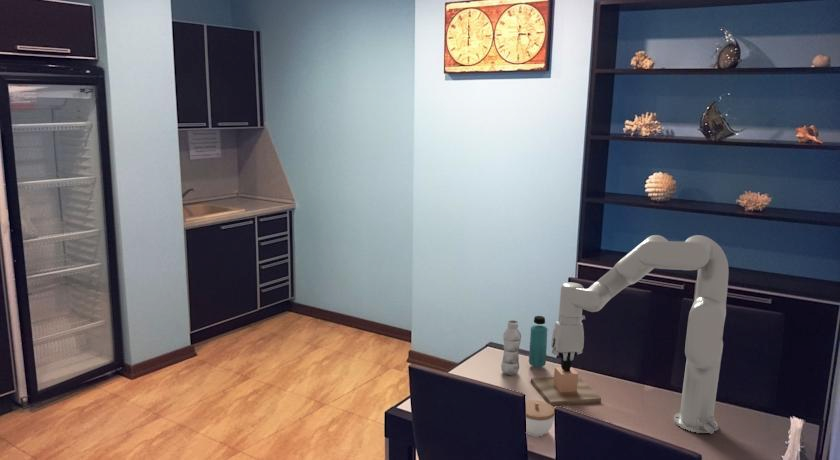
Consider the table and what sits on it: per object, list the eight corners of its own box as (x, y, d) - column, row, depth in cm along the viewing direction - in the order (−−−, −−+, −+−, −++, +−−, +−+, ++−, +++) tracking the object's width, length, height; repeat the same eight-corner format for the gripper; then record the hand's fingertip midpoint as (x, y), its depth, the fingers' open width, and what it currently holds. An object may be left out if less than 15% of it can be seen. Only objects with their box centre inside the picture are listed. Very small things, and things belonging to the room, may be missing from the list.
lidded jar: (553, 443, 182) (555, 413, 180) (516, 438, 184) (518, 409, 182) (553, 425, 192) (555, 397, 190) (518, 421, 194) (519, 393, 192)
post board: (600, 402, 208) (602, 384, 206) (550, 405, 204) (551, 387, 203) (577, 379, 225) (578, 362, 224) (530, 382, 222) (531, 365, 220)
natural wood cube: (576, 391, 212) (578, 373, 211) (560, 392, 211) (561, 374, 210) (569, 383, 218) (570, 366, 217) (553, 384, 217) (554, 367, 215)
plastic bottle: (497, 371, 230) (500, 320, 226) (512, 368, 233) (515, 318, 229) (506, 378, 224) (509, 326, 220) (522, 375, 227) (525, 323, 223)
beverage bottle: (547, 371, 231) (550, 320, 227) (529, 370, 231) (532, 319, 227) (544, 364, 238) (547, 314, 234) (526, 363, 238) (529, 313, 234)
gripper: (585, 314, 215) (581, 364, 218) (544, 316, 212) (541, 366, 215) (595, 322, 207) (590, 373, 211) (553, 323, 205) (549, 375, 208)
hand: (565, 369), depth 213 cm, fingers closed
